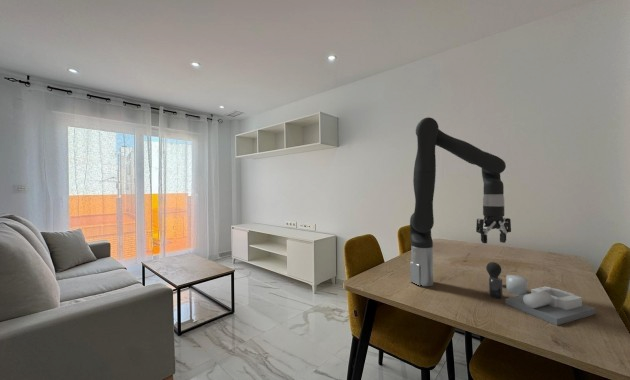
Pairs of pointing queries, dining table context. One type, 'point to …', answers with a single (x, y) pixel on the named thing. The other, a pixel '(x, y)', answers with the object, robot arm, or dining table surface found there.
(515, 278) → the cylinder
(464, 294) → the dining table surface
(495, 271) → the light bulb
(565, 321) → the socket block
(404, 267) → the dining table surface
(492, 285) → the dark grey domed cylinder
